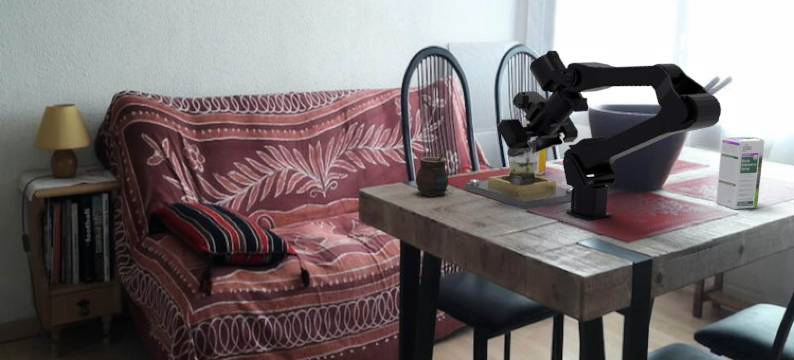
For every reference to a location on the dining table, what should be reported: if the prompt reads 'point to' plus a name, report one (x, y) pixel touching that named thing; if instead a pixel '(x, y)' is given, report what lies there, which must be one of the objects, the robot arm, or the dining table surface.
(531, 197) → the grey plate with frame
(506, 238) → the dining table surface
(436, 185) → the mate gourd
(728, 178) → the syrup box
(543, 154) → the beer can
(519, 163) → the glass mug
